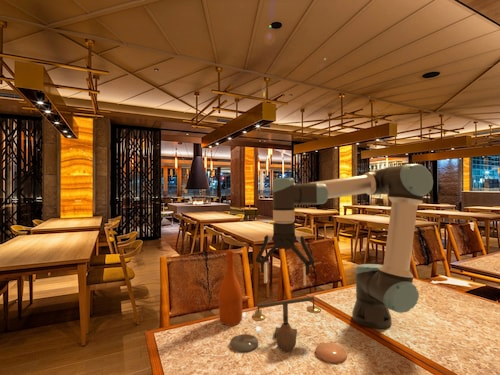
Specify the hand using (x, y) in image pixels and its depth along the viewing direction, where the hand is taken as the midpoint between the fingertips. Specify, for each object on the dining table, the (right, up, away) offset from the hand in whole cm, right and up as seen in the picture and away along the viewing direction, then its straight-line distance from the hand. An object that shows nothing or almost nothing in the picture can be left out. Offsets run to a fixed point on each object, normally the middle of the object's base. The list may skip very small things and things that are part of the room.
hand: (285, 283), depth 97 cm
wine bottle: (-20, -24, +21) cm, 38 cm away
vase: (0, -23, 0) cm, 23 cm away
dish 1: (-14, -23, +3) cm, 27 cm away
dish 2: (+15, -22, -4) cm, 27 cm away
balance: (+1, -23, +9) cm, 24 cm away
